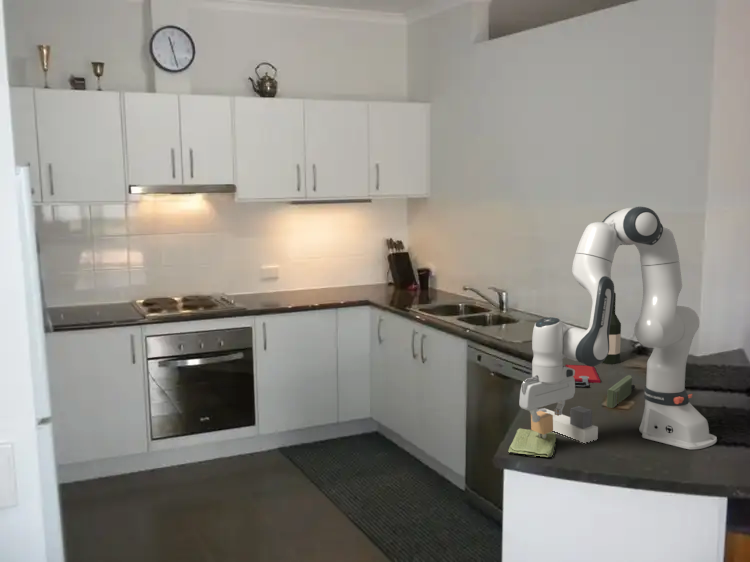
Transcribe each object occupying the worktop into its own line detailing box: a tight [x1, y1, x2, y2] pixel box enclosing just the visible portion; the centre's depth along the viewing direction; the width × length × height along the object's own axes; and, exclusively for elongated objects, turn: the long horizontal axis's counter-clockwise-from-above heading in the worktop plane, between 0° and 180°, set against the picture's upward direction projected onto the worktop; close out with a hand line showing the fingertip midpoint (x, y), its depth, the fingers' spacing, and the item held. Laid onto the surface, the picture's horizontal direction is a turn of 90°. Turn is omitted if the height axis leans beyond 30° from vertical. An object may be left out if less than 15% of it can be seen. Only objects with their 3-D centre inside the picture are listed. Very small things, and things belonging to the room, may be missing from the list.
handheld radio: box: [606, 374, 636, 409], centre depth 266 cm, size 7×3×25 cm
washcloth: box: [507, 428, 557, 458], centre depth 223 cm, size 13×18×3 cm
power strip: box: [537, 407, 599, 444], centre depth 235 cm, size 22×6×5 cm, turn 33°
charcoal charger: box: [569, 405, 593, 429], centre depth 228 cm, size 5×4×7 cm
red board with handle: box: [564, 364, 601, 388], centre depth 293 cm, size 30×3×15 cm
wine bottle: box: [601, 290, 622, 365], centre depth 311 cm, size 8×8×30 cm
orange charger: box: [530, 411, 553, 438], centre depth 223 cm, size 5×4×7 cm
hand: (547, 418), depth 222 cm, fingers open, 8 cm apart
